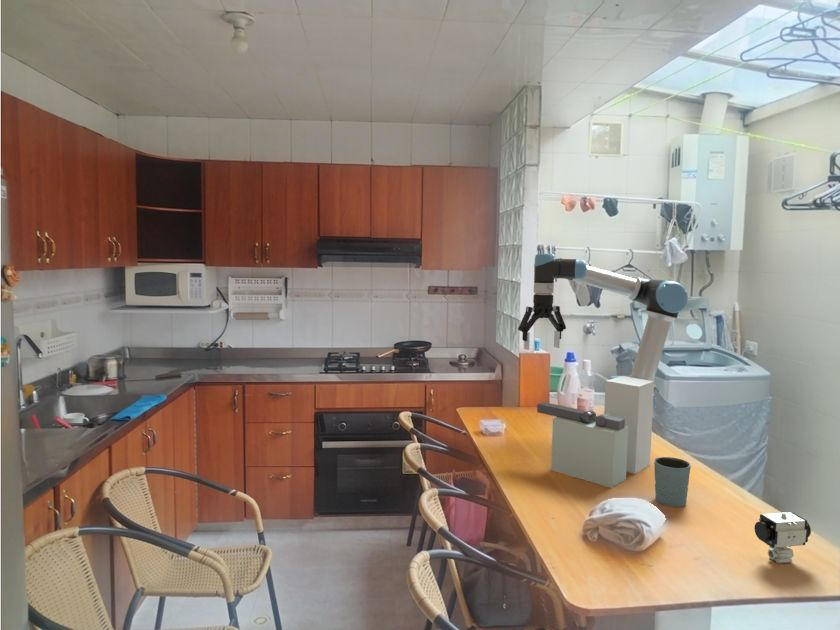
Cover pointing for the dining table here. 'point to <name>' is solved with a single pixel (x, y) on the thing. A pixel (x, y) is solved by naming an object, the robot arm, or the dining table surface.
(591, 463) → the grey-green rectangular block
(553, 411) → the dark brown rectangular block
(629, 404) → the taupe rectangular block
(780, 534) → the pneumatic valve
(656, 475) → the blue-grey cup
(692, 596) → the dining table surface
